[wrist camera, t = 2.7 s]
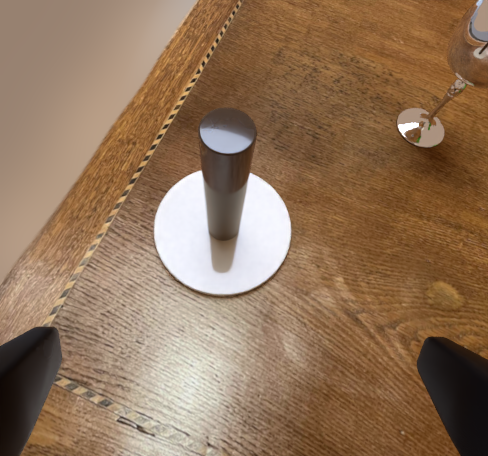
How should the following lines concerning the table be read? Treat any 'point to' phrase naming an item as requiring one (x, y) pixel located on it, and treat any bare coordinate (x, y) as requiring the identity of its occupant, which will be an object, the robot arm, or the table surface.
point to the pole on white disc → (223, 214)
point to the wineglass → (462, 66)
